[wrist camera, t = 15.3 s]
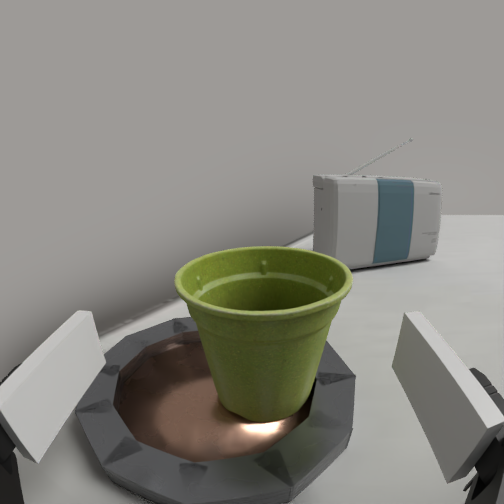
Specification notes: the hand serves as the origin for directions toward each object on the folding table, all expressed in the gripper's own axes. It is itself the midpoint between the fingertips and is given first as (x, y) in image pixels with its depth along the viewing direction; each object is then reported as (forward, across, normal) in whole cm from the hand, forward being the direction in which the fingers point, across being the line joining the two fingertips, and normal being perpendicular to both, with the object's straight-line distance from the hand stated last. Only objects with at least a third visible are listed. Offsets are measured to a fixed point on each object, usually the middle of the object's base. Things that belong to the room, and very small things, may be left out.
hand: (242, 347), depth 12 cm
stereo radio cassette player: (+34, +18, -8) cm, 39 cm away
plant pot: (+5, +1, -8) cm, 9 cm away
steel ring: (+5, -3, -8) cm, 10 cm away
